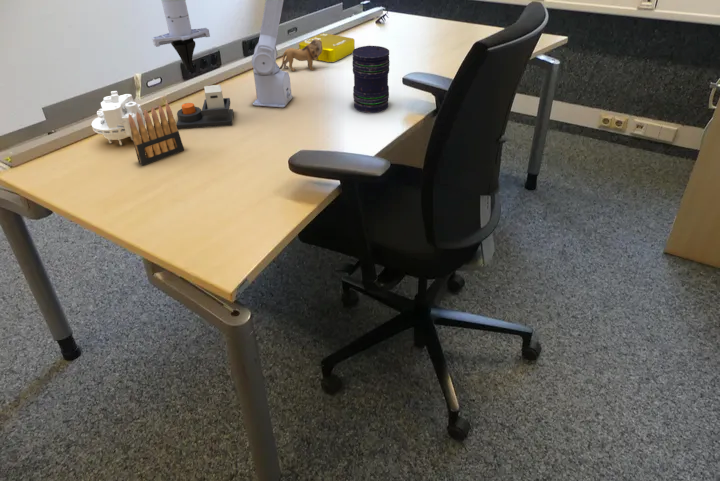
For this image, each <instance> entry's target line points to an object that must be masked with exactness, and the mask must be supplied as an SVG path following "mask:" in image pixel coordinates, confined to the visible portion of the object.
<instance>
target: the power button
mask: <svg viewBox="0 0 720 481" xmlns="http://www.w3.org/2000/svg"><path fill="white" fill-rule="evenodd" d="M195 107H196V106H195V103H193V102H186V103H183V104H182V105H181V109H182V110H183V114H193V113H195V112H196V111H195Z"/></svg>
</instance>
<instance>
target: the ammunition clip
mask: <svg viewBox="0 0 720 481" xmlns="http://www.w3.org/2000/svg"><path fill="white" fill-rule="evenodd" d="M150 109H151V110H150V111H151V117H150V114H149V113H148V111H147V110H146V109H144V110H143V115H144V119H145V126H144V123H143V120H142V118H141V116H140V114H139V113H138V112H137V113H136V118H137V123H138V127H139V132H138V130H137V127H136V125H135V122H134V120H133V118H132V116H131V115H130V114H129V116H128V118H129V125H130V129H131V135H132V138H133V140H132V142H133V145H134V146H133V147H134V150H135V154H136V158H137V161H138V164H139V165H141V166H145V165H149V164H151V163H153V162H157V161H159V160H162V159H164V158H167V157H170V156H173V155H176V154H178V153H181V152H184V151H185V148H184V145H183V140H182V138H181V134H180V133H179V129H177V126H176V124H177V121H176V119H175V116H174V115H173V111H172V108H171V106H170V104H169V103H168V102H166V103H165V111H164V109H163V106H162V105H161V104H158V113H157V111H156V109H155V108H154V106H153V107H151V108H150ZM165 113H166V114H165ZM139 133H140V134H139Z"/></svg>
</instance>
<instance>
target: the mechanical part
mask: <svg viewBox="0 0 720 481" xmlns="http://www.w3.org/2000/svg"><path fill="white" fill-rule="evenodd" d="M133 98H134V97H133V95H132V94H131V93H125V94H121V95H119V92H118V90H112V91H110V95H107V96H104V97H103V100H102V101H101V102H100V107H101V108H99V109H98V110H97V111H96V115H97V117H96V118H94V119H93V120H92V121H91V128H92V130H93V132H94V133H96V134H99V135H103V137H104V139H106V140H108V143H109V144H112V143H113V142H112V141H116V140H117V141H118V144H119V146H122V145H123V142H122V140H124V139H127V138H129V137H130V139H131V141H133V138H132V135H131V129H130V125H129V118H128V116H129V114H130V115H131V116H132V118H133V120H134V122H135V125H136V127H137V130H138V132H139V127H138V123H137V118H136V113H137V112H138V113H139V114H140V116H141V118H142V120H143V123H144V126H145V127H146V122H145V118H144V111H143V110H142V106H141V104H140V103H137V102H136V101H134V99H133ZM139 134H140V133H139Z"/></svg>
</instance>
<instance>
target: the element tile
mask: <svg viewBox="0 0 720 481" xmlns="http://www.w3.org/2000/svg"><path fill="white" fill-rule="evenodd" d="M314 39H318V40H320V41H322V48H323V49H322V53H321V54H320V55H319V56H318V58H317V59H316V60H315V61H321V62H325V63H335V62H337V61H340V60H342V59H344V58H345V57H347V56H350V55H352V54H353V50H354V49H356V48H355V47H356V45H355V39H354V38H352V37H348V36H342V35H336V34H330V33H324V32H321V33H319V34H317V35H314V36H312V37H309V38H307V39H304V40H302V41H300V42H299V43H298V49H303V48H304V47H305V46H307V45H308V44H310V43H311V41H313V40H314Z"/></svg>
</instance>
